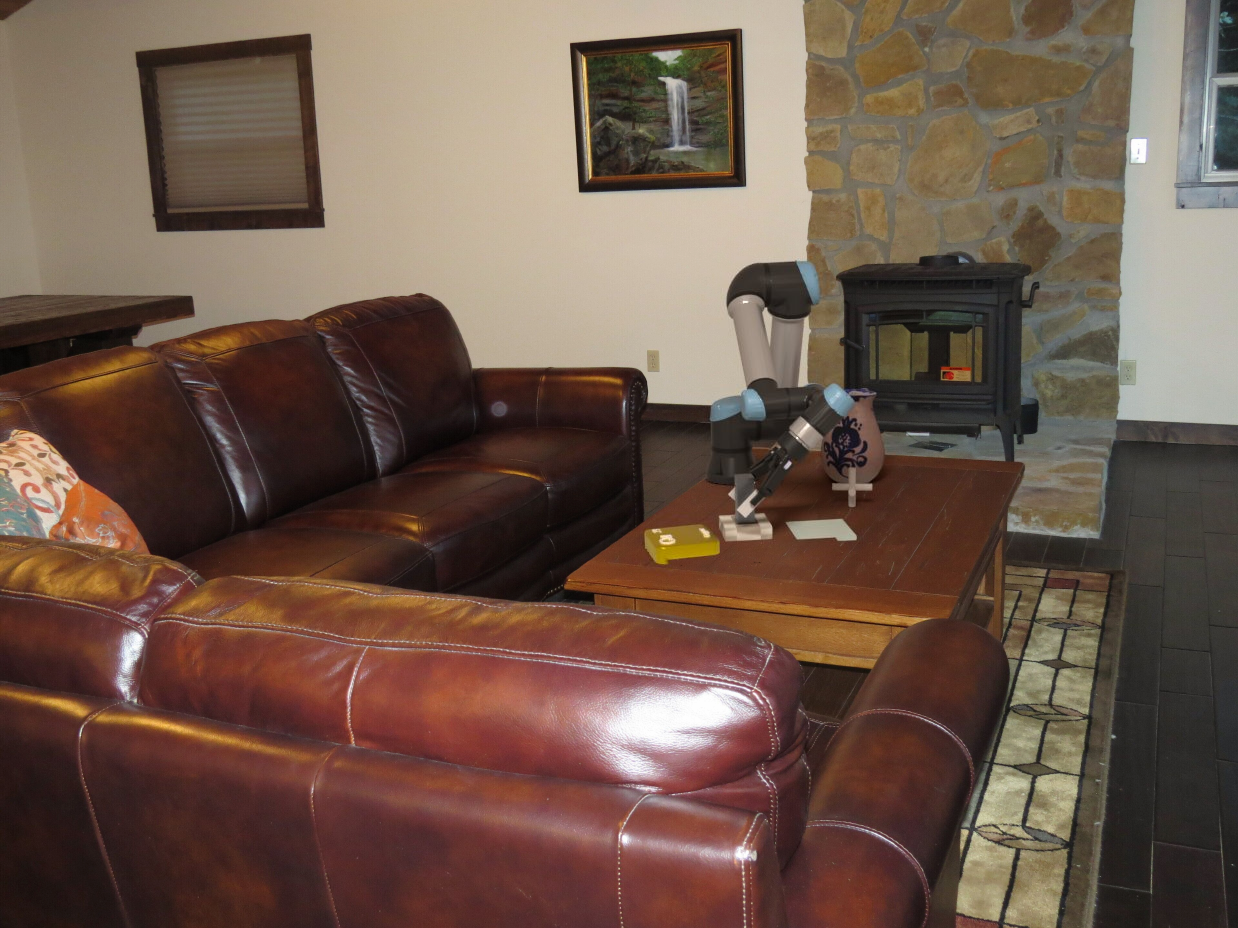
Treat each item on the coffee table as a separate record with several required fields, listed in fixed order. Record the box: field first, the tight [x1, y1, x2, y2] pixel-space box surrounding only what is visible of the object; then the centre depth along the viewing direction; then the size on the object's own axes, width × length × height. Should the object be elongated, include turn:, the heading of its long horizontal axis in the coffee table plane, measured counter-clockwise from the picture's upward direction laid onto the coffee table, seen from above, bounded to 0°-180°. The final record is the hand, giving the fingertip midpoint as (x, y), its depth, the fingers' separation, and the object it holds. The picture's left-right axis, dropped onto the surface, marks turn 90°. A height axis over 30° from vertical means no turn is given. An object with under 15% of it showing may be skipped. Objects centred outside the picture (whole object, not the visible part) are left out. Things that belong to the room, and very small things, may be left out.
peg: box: [734, 474, 756, 525], centre depth 266 cm, size 4×4×14 cm
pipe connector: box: [831, 468, 873, 508], centre depth 289 cm, size 10×10×10 cm
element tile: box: [644, 523, 721, 565], centre depth 259 cm, size 15×15×5 cm
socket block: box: [718, 512, 773, 542], centre depth 268 cm, size 11×11×4 cm
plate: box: [785, 518, 858, 542], centre depth 269 cm, size 14×14×1 cm
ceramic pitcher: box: [820, 387, 886, 484], centre depth 312 cm, size 18×21×25 cm
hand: (736, 505), depth 266 cm, fingers open, 13 cm apart
